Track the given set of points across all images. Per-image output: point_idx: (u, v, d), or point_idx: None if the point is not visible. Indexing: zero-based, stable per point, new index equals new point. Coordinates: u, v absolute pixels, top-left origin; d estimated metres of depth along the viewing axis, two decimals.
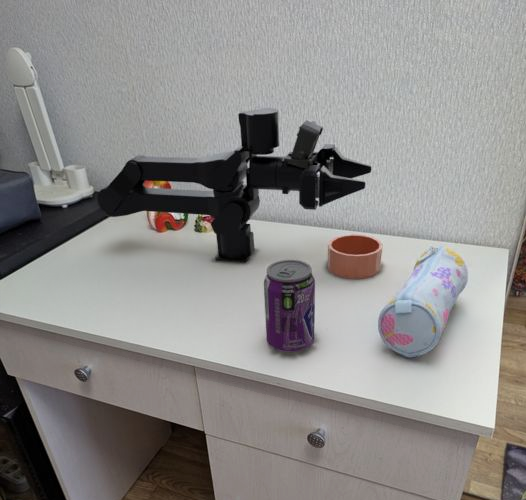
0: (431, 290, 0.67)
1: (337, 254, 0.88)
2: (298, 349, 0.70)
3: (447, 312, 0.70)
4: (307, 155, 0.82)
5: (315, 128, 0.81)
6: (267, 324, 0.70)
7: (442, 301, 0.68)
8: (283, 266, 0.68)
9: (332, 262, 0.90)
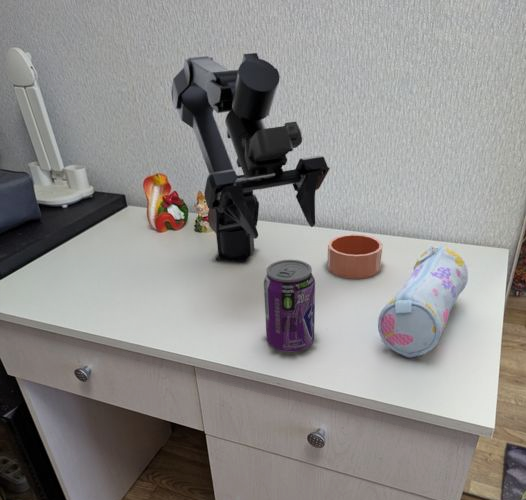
0: (431, 290, 0.67)
1: (337, 254, 0.88)
2: (298, 349, 0.70)
3: (447, 312, 0.70)
4: (254, 158, 0.70)
5: (271, 145, 0.67)
6: (267, 324, 0.70)
7: (442, 301, 0.68)
8: (283, 266, 0.68)
9: (332, 262, 0.90)
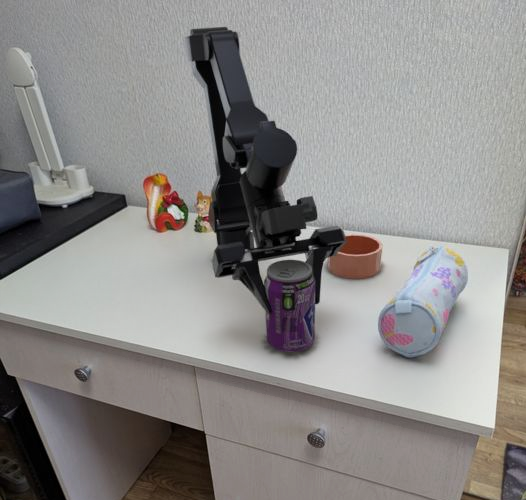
0: (431, 290, 0.67)
1: (337, 254, 0.88)
2: (298, 349, 0.70)
3: (447, 312, 0.70)
4: (264, 232, 0.66)
5: (282, 225, 0.62)
6: (267, 324, 0.70)
7: (442, 301, 0.68)
8: (283, 266, 0.68)
9: (332, 262, 0.90)
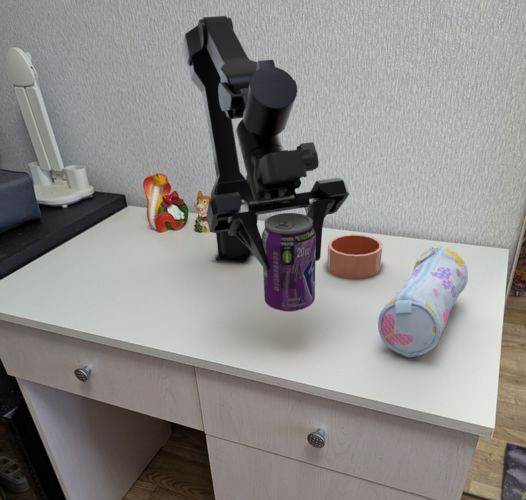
0: (431, 290, 0.67)
1: (337, 254, 0.88)
2: (298, 308, 0.67)
3: (447, 312, 0.70)
4: (262, 182, 0.62)
5: (281, 171, 0.59)
6: (265, 282, 0.67)
7: (442, 301, 0.68)
8: (282, 219, 0.64)
9: (332, 262, 0.90)
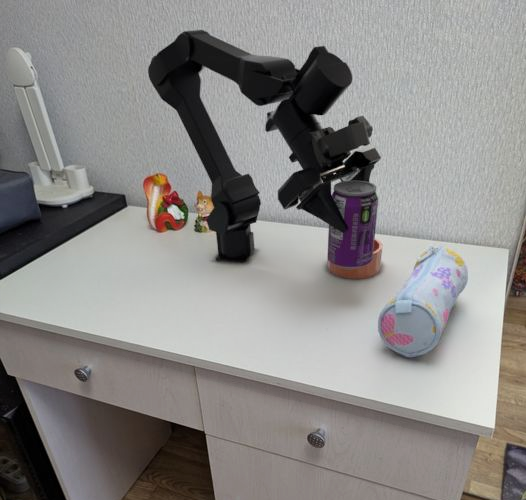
0: (431, 290, 0.67)
1: None
2: (368, 262, 0.76)
3: (447, 312, 0.70)
4: (329, 155, 0.70)
5: (356, 141, 0.67)
6: (338, 245, 0.74)
7: (442, 301, 0.68)
8: (344, 187, 0.73)
9: None
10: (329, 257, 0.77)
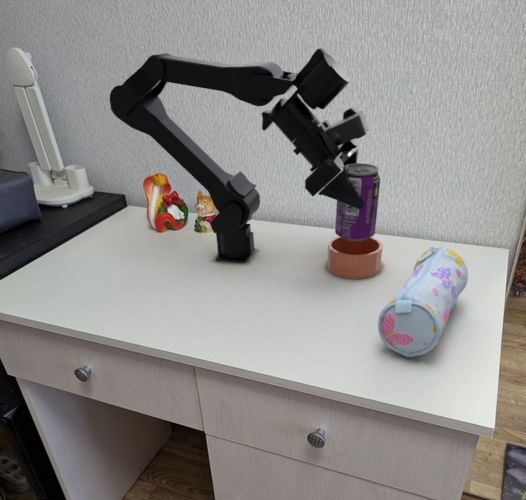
0: (431, 290, 0.67)
1: (337, 254, 0.88)
2: (374, 232, 0.88)
3: (447, 312, 0.70)
4: (340, 142, 0.79)
5: (364, 128, 0.78)
6: (354, 221, 0.84)
7: (442, 301, 0.68)
8: (349, 170, 0.83)
9: (332, 262, 0.90)
10: (342, 234, 0.87)
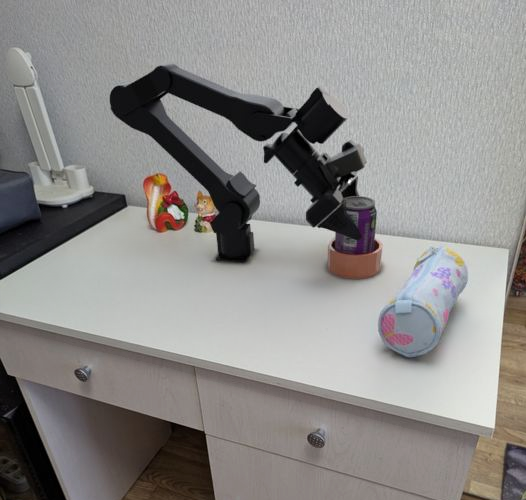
0: (431, 290, 0.67)
1: (337, 254, 0.88)
2: None
3: (447, 312, 0.70)
4: (339, 175, 0.82)
5: (362, 161, 0.81)
6: (352, 252, 0.88)
7: (442, 301, 0.68)
8: (347, 203, 0.87)
9: (332, 262, 0.90)
10: None
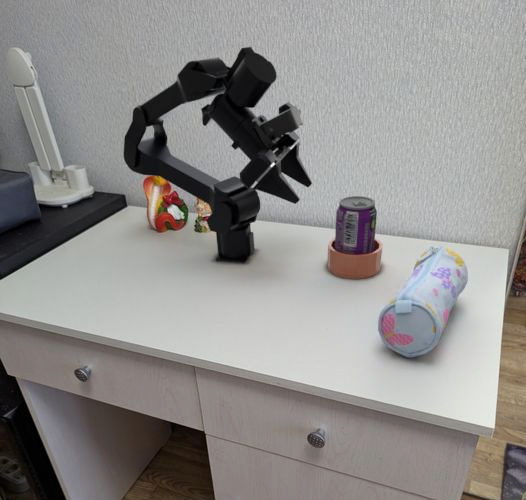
0: (431, 290, 0.67)
1: (337, 254, 0.88)
2: None
3: (447, 312, 0.70)
4: (274, 137, 0.81)
5: (297, 122, 0.80)
6: (352, 252, 0.88)
7: (442, 301, 0.68)
8: (347, 203, 0.87)
9: (332, 262, 0.90)
10: None
